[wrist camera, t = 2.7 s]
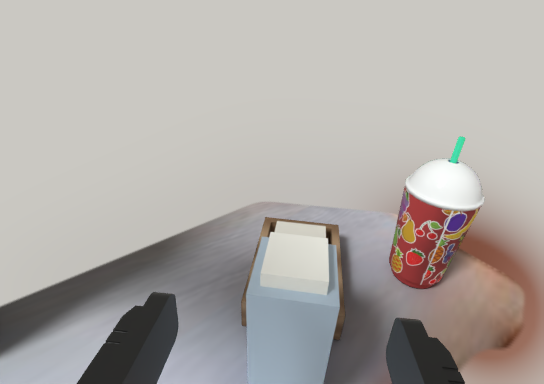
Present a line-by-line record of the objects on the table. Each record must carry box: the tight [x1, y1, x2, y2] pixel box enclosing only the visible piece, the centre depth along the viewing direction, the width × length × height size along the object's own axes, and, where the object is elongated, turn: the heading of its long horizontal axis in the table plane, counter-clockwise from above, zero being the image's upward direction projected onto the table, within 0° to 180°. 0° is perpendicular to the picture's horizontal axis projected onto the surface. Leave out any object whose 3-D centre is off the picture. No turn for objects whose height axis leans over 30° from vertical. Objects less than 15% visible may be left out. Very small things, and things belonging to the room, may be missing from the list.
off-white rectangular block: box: [275, 221, 326, 238], centre depth 42 cm, size 4×7×4 cm, turn 82°
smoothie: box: [389, 137, 485, 289], centre depth 37 cm, size 8×8×20 cm
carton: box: [246, 232, 340, 384], centre depth 25 cm, size 6×6×16 cm
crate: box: [241, 217, 345, 340], centre depth 40 cm, size 16×11×4 cm
